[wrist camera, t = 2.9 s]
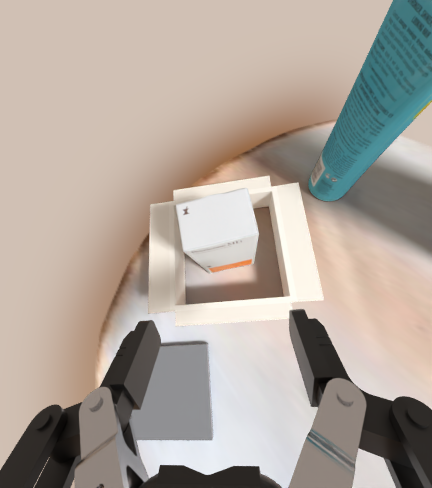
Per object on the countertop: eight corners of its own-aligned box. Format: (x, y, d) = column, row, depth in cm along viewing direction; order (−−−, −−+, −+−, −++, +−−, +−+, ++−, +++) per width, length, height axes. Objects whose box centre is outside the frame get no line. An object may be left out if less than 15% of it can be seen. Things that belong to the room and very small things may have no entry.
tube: (359, 200, 26) (601, -28, 8) (323, 215, 27) (482, 23, 8) (329, 156, 29) (467, -97, 11) (296, 170, 29) (376, -57, 11)
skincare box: (209, 274, 27) (179, 253, 15) (203, 244, 28) (172, 202, 17) (255, 264, 26) (260, 234, 15) (248, 233, 28) (247, 184, 16)
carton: (289, 189, 28) (296, 171, 25) (315, 314, 24) (327, 316, 20) (162, 207, 31) (150, 193, 27) (162, 324, 26) (147, 328, 22)
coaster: (207, 343, 25) (206, 344, 24) (213, 436, 22) (212, 440, 21) (136, 347, 26) (133, 348, 25) (133, 436, 23) (130, 439, 22)
